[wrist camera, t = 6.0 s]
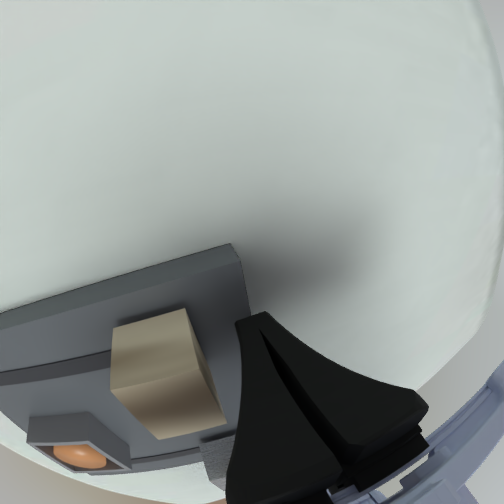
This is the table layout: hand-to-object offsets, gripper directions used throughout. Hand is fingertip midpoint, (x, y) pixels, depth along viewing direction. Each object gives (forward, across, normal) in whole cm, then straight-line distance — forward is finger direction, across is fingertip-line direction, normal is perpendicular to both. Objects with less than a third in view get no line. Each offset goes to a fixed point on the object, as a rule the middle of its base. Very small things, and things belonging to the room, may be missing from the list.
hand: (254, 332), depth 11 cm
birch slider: (0, +4, 0) cm, 4 cm away
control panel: (+2, +9, +6) cm, 11 cm away
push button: (0, +13, +6) cm, 14 cm away
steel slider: (0, +4, +12) cm, 13 cm away
